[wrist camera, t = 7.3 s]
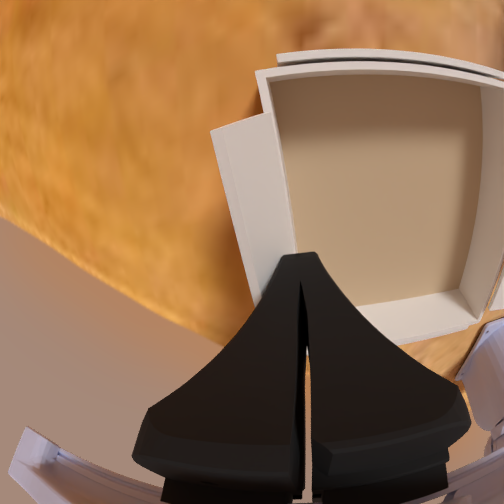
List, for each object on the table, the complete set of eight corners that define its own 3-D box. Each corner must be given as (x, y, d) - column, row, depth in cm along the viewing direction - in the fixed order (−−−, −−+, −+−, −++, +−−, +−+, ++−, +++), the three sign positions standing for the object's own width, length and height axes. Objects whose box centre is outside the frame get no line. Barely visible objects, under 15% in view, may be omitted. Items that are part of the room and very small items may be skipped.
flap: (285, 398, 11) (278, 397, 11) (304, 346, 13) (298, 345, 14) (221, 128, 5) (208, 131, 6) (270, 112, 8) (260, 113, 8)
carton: (457, 293, 16) (476, 327, 13) (300, 318, 18) (302, 360, 15) (478, 73, 8) (520, 77, 5) (259, 67, 10) (251, 57, 7)
